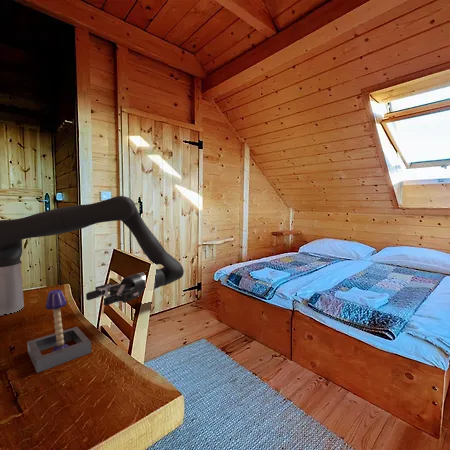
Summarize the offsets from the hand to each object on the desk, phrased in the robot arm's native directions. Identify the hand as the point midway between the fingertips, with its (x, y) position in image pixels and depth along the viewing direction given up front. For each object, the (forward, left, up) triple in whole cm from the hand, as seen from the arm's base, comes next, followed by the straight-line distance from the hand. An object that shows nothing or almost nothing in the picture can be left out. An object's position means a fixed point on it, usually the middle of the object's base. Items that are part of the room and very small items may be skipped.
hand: (95, 299), depth 79 cm
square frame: (-5, -9, -11) cm, 15 cm away
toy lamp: (-6, -9, -11) cm, 15 cm away
